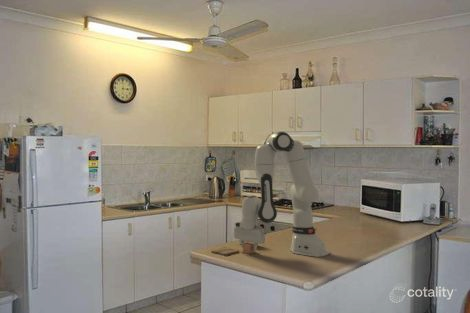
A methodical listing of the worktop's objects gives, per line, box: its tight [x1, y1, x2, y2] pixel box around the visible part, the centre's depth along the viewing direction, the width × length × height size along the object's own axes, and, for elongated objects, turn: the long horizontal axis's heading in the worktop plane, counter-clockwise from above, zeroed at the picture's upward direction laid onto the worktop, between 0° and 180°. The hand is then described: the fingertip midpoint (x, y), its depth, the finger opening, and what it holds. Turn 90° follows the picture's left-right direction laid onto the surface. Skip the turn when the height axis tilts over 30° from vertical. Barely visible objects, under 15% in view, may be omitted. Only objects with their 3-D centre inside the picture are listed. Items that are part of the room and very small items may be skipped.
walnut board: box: [211, 246, 240, 257], centre depth 229 cm, size 11×11×1 cm
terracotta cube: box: [242, 242, 256, 255], centre depth 230 cm, size 5×5×5 cm
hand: (249, 248), depth 230 cm, fingers open, 6 cm apart
